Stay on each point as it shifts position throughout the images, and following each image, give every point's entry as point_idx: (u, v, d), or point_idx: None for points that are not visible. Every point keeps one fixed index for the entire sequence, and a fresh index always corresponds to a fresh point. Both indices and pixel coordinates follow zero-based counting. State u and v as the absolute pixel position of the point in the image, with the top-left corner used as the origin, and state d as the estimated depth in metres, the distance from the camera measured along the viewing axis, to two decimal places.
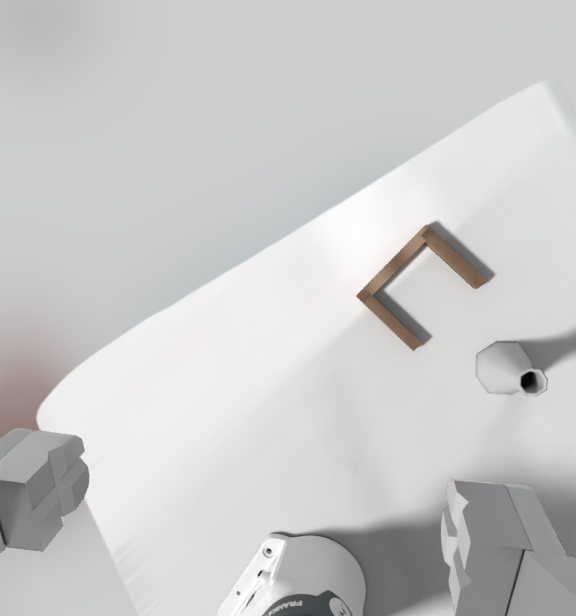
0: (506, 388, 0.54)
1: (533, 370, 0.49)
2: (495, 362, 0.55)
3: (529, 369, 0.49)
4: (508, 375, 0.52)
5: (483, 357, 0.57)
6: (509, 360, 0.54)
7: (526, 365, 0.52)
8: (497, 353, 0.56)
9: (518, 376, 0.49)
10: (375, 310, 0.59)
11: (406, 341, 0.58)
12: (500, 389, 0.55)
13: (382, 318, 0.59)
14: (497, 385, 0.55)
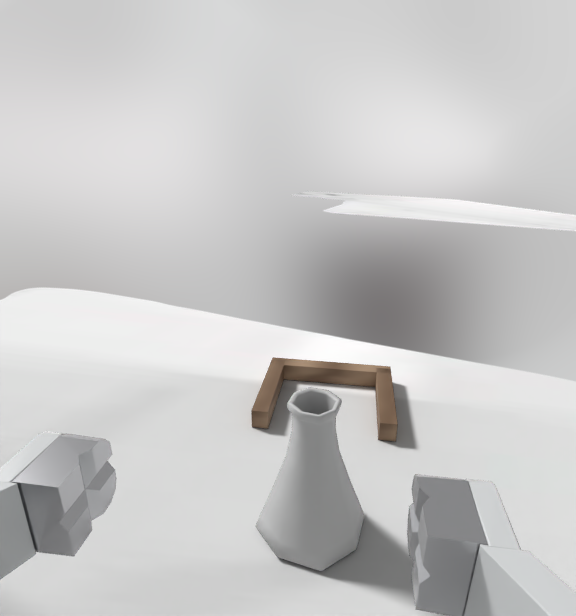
0: (281, 466, 0.29)
1: (331, 395, 0.28)
2: None
3: (328, 391, 0.28)
4: None
5: None
6: None
7: None
8: None
9: (307, 388, 0.29)
10: (271, 371, 0.47)
11: (258, 401, 0.41)
12: (273, 488, 0.29)
13: (267, 378, 0.45)
14: None
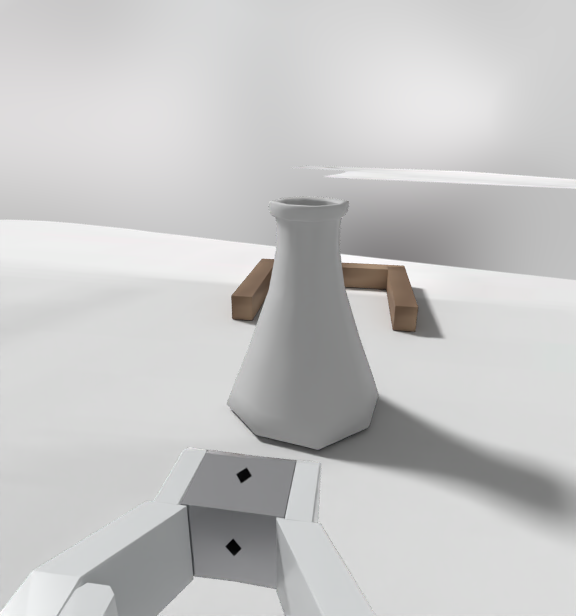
0: None
1: (334, 200, 0.19)
2: None
3: (329, 198, 0.20)
4: None
5: None
6: None
7: None
8: None
9: None
10: (259, 268, 0.38)
11: (240, 289, 0.33)
12: (251, 344, 0.21)
13: (253, 272, 0.37)
14: None
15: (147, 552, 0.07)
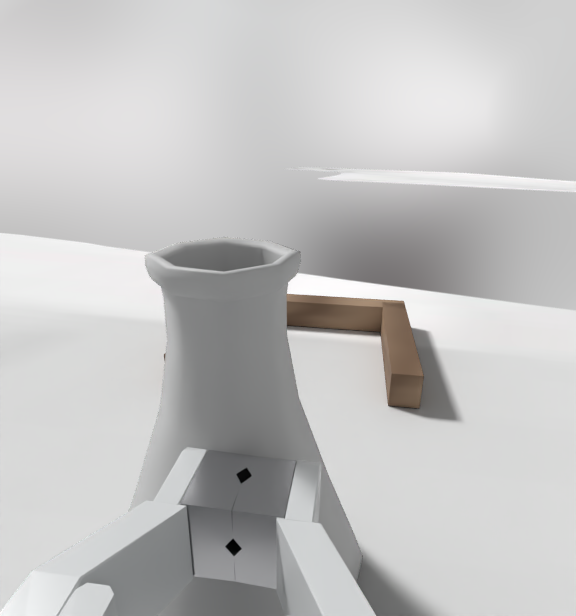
0: None
1: (275, 247, 0.10)
2: None
3: (269, 243, 0.11)
4: None
5: None
6: None
7: None
8: None
9: None
10: None
11: None
12: (137, 495, 0.12)
13: None
14: None
15: (147, 552, 0.07)
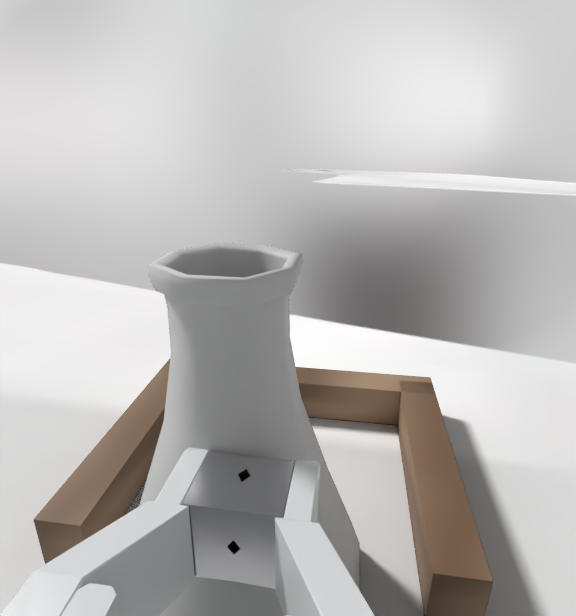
0: None
1: (274, 250, 0.10)
2: None
3: (265, 246, 0.11)
4: None
5: None
6: None
7: None
8: None
9: None
10: (153, 390, 0.20)
11: (72, 483, 0.14)
12: None
13: (134, 407, 0.18)
14: None
15: (149, 552, 0.07)
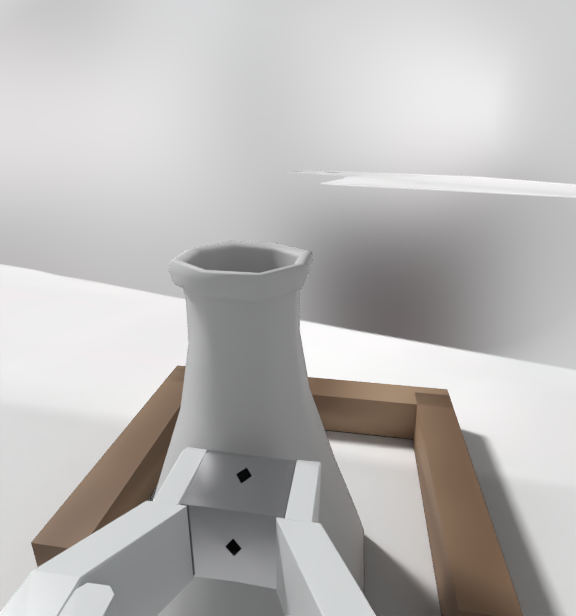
0: None
1: (286, 248, 0.11)
2: None
3: (277, 244, 0.11)
4: None
5: None
6: None
7: None
8: None
9: None
10: (158, 400, 0.19)
11: (73, 502, 0.14)
12: None
13: (139, 420, 0.18)
14: None
15: (147, 552, 0.07)
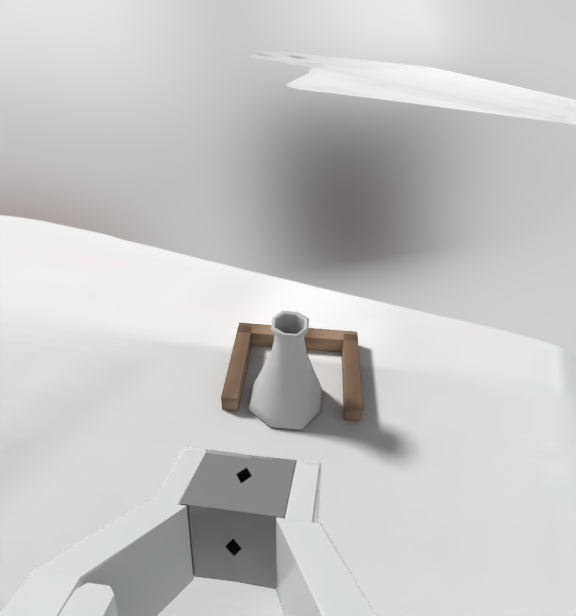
0: (265, 369, 0.39)
1: (300, 316, 0.37)
2: None
3: (297, 313, 0.38)
4: None
5: None
6: None
7: None
8: None
9: (281, 312, 0.38)
10: (238, 342, 0.46)
11: (227, 384, 0.42)
12: (260, 383, 0.40)
13: (234, 352, 0.45)
14: (261, 378, 0.40)
15: (147, 552, 0.07)
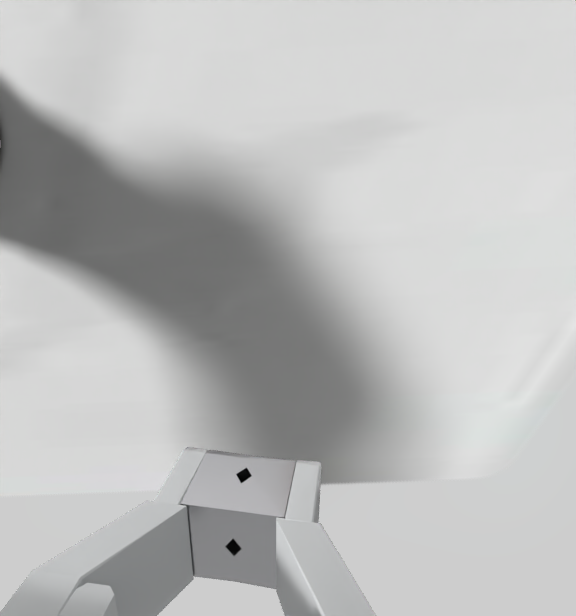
0: None
1: None
2: None
3: None
4: None
5: None
6: None
7: None
8: None
9: None
10: None
11: None
12: None
13: None
14: None
15: (147, 552, 0.07)
